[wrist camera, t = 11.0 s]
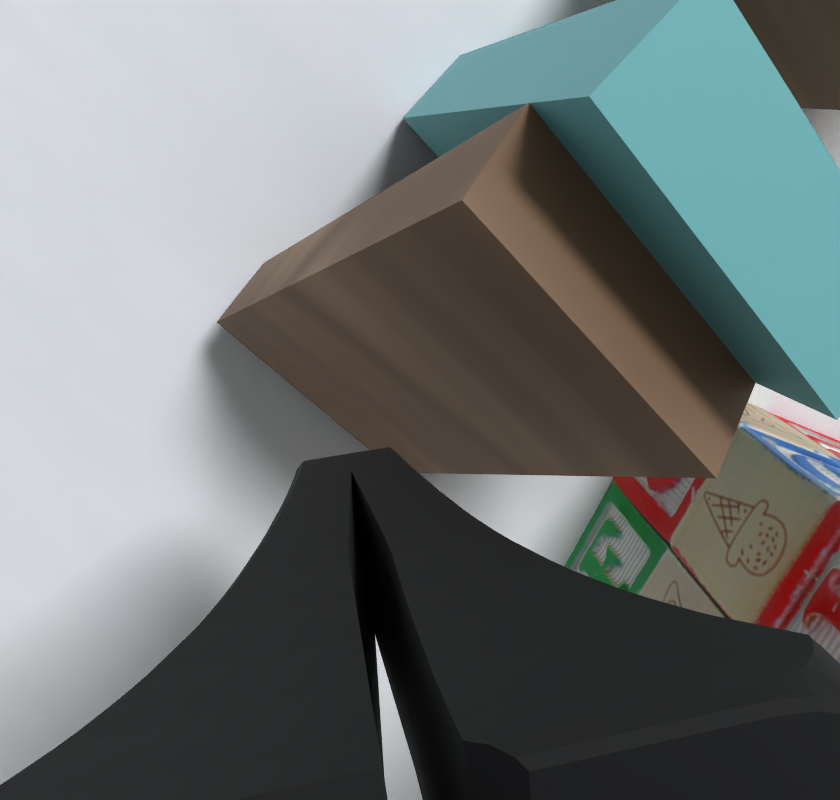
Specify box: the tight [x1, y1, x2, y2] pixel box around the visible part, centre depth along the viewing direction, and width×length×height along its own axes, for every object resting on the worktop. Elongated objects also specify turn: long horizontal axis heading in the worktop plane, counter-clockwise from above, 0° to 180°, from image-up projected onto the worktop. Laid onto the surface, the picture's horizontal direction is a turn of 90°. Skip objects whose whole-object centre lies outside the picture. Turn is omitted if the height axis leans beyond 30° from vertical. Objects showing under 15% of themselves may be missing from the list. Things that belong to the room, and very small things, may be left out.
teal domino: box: [403, 0, 840, 420], centre depth 12 cm, size 2×5×8 cm, turn 44°
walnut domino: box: [217, 103, 755, 478], centre depth 12 cm, size 2×5×8 cm
